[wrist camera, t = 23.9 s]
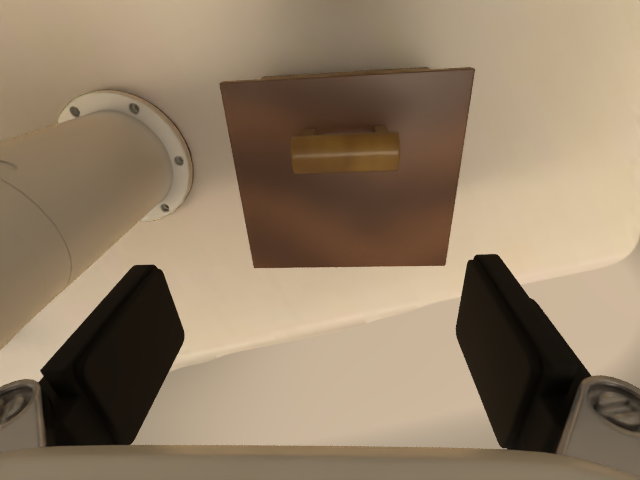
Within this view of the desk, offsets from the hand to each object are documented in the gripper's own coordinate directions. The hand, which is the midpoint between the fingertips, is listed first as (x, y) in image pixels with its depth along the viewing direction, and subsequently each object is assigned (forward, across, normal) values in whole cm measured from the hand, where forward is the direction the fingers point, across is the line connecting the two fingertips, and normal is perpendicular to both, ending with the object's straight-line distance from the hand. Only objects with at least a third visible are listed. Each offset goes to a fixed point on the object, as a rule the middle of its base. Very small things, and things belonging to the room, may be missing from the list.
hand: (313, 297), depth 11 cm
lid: (+13, -1, +1) cm, 13 cm away
